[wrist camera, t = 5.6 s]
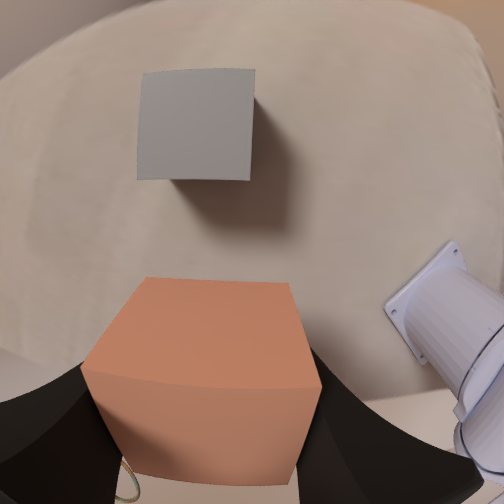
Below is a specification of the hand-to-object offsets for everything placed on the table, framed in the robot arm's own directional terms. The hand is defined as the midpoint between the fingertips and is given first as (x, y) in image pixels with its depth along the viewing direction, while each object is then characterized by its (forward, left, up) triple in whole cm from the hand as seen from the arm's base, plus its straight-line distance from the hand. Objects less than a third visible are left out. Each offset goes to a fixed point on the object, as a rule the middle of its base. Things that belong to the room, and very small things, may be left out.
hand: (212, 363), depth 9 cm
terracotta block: (0, 0, -1) cm, 1 cm away
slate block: (+7, -5, -10) cm, 13 cm away
